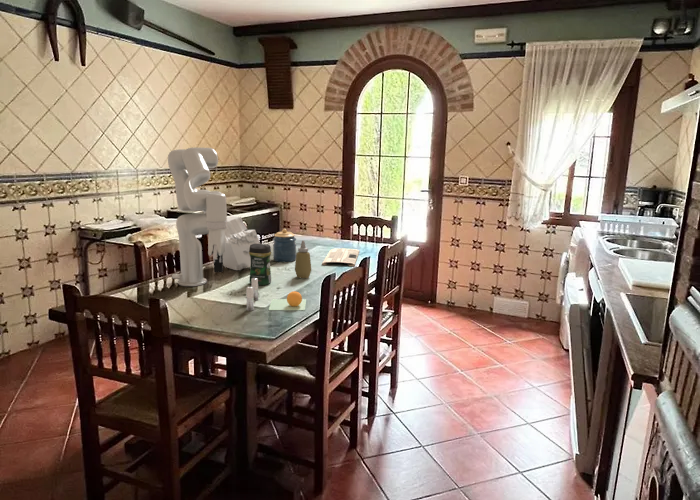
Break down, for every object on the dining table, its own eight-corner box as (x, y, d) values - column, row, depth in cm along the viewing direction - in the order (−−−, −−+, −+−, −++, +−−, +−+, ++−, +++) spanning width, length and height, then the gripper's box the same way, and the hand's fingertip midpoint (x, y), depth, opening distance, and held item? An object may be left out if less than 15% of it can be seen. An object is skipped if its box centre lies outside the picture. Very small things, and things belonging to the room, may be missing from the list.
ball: (303, 304, 196) (289, 310, 196) (305, 301, 202) (291, 306, 202) (297, 290, 195) (283, 296, 195) (299, 287, 201) (285, 293, 201)
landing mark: (268, 310, 193) (268, 309, 193) (272, 299, 207) (272, 299, 207) (304, 310, 194) (304, 309, 194) (306, 299, 208) (306, 299, 208)
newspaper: (354, 267, 268) (354, 262, 267) (318, 266, 269) (318, 261, 269) (359, 253, 304) (359, 248, 303) (327, 252, 305) (327, 247, 305)
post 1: (246, 310, 192) (245, 288, 190) (247, 308, 195) (246, 286, 193) (253, 310, 192) (252, 288, 190) (254, 308, 195) (253, 286, 193)
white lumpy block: (268, 262, 260) (252, 219, 250) (243, 277, 251) (226, 232, 241) (246, 256, 275) (231, 215, 264) (222, 270, 265) (205, 228, 255)
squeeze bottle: (311, 275, 248) (311, 239, 244) (311, 279, 240) (311, 242, 236) (295, 274, 248) (295, 239, 244) (294, 279, 240) (293, 242, 236)
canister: (298, 257, 286) (298, 227, 283) (293, 262, 274) (293, 230, 270) (276, 256, 287) (275, 226, 284) (270, 261, 275) (269, 230, 271)
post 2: (251, 300, 205) (250, 279, 203) (252, 298, 208) (251, 277, 206) (257, 300, 205) (257, 279, 203) (258, 298, 208) (258, 277, 206)
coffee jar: (247, 284, 229) (246, 244, 225) (254, 280, 236) (253, 241, 232) (266, 286, 226) (266, 246, 223) (273, 282, 234) (273, 243, 230)
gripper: (211, 222, 200) (213, 267, 204) (202, 228, 185) (204, 276, 189) (230, 222, 200) (231, 267, 204) (222, 228, 186) (224, 276, 189)
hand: (218, 271), depth 197 cm, fingers closed
